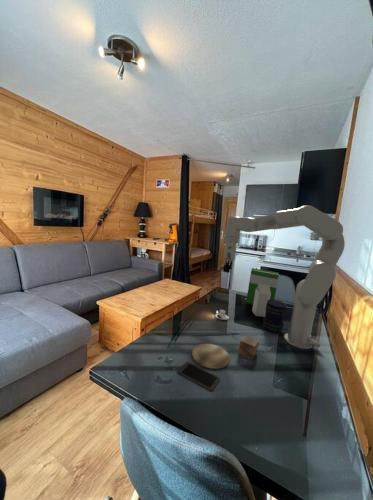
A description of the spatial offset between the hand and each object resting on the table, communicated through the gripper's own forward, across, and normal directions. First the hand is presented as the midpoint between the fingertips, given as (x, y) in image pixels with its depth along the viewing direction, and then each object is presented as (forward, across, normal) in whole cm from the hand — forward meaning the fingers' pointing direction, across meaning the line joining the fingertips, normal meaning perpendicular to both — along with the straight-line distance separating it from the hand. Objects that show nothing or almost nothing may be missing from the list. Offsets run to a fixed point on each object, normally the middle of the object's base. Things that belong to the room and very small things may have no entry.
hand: (227, 270), depth 119 cm
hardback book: (+28, +38, -21) cm, 52 cm away
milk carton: (+28, +20, -21) cm, 41 cm away
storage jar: (+28, +2, -28) cm, 40 cm away
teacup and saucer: (+29, 0, +1) cm, 29 cm away
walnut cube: (+28, -28, -16) cm, 43 cm away
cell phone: (+29, -50, 0) cm, 58 cm away
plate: (+28, -37, -2) cm, 47 cm away
